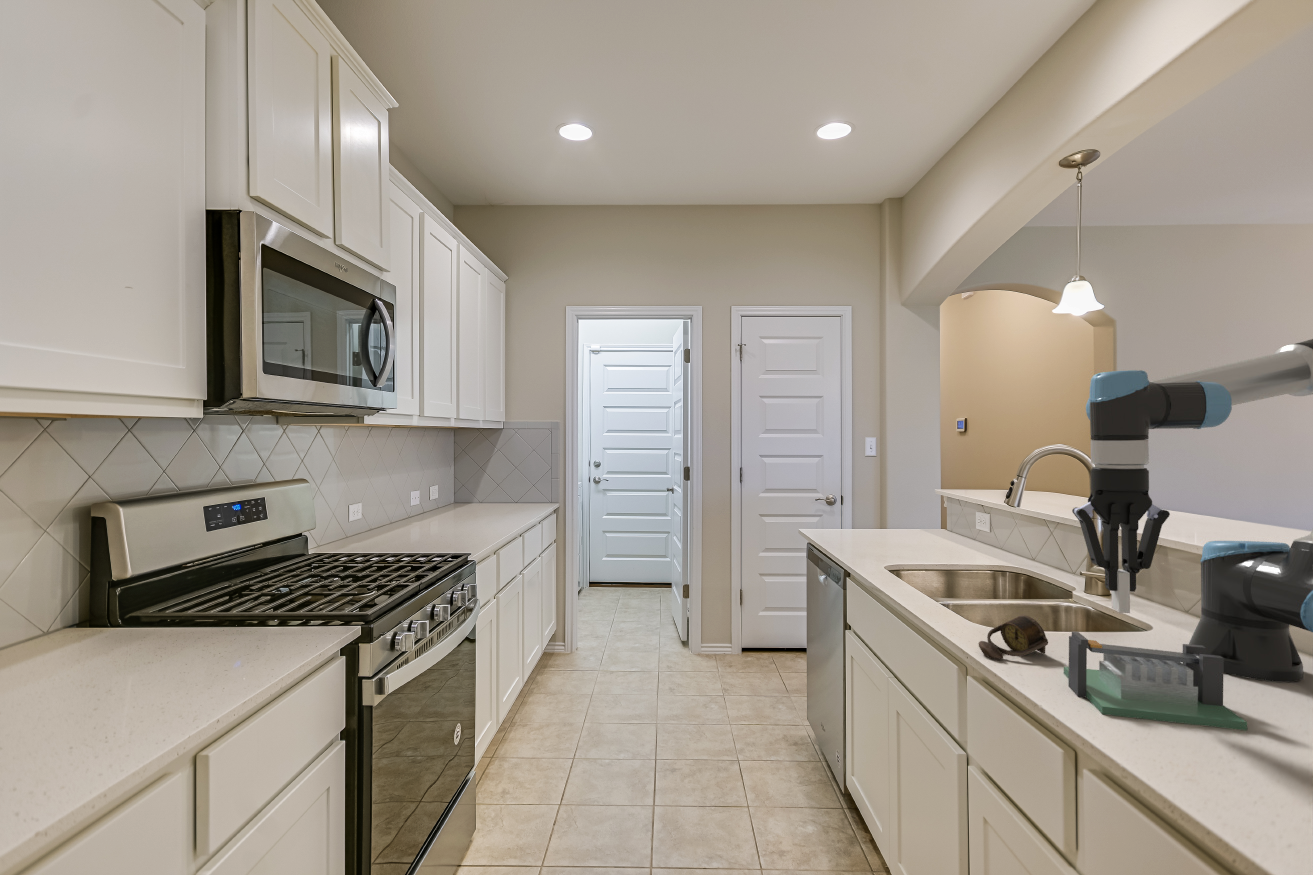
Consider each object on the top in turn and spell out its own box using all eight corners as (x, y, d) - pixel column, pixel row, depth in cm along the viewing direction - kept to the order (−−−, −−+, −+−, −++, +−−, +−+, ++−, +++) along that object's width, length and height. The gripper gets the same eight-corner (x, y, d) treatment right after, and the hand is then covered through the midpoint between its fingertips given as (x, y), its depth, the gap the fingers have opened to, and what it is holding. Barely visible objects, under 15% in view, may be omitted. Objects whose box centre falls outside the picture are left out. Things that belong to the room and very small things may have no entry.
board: (1184, 685, 103) (1184, 678, 103) (1247, 730, 87) (1247, 722, 87) (1063, 673, 108) (1063, 666, 108) (1102, 713, 92) (1102, 706, 92)
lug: (1078, 687, 102) (1078, 631, 102) (1087, 697, 98) (1088, 639, 98) (1068, 686, 102) (1069, 631, 102) (1077, 696, 98) (1078, 639, 98)
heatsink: (1169, 684, 100) (1169, 652, 100) (1197, 706, 92) (1198, 671, 92) (1099, 677, 103) (1099, 646, 103) (1120, 698, 95) (1121, 664, 95)
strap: (1197, 659, 96) (1197, 651, 96) (1207, 665, 94) (1207, 657, 94) (1084, 647, 101) (1084, 639, 101) (1090, 652, 98) (1090, 644, 98)
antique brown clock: (1065, 636, 111) (1035, 609, 121) (995, 629, 112) (970, 602, 122) (1055, 670, 113) (1027, 640, 123) (986, 663, 114) (963, 634, 123)
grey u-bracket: (1201, 690, 98) (1202, 645, 98) (1223, 705, 92) (1223, 657, 92) (1182, 688, 98) (1182, 643, 98) (1202, 703, 93) (1203, 656, 93)
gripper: (1154, 464, 100) (1156, 606, 100) (1064, 465, 103) (1066, 601, 104) (1180, 467, 93) (1181, 620, 93) (1081, 468, 96) (1083, 614, 97)
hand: (1120, 610), depth 98 cm, fingers closed
